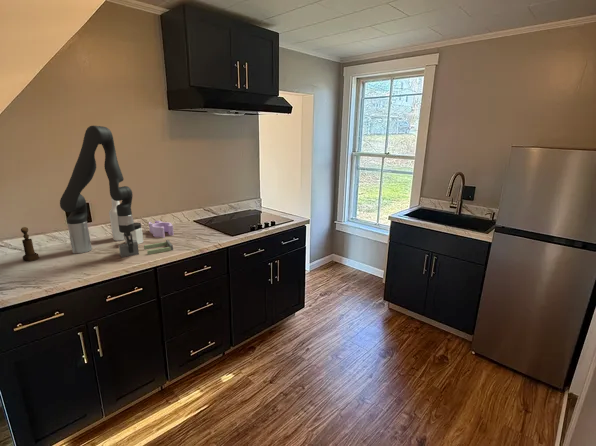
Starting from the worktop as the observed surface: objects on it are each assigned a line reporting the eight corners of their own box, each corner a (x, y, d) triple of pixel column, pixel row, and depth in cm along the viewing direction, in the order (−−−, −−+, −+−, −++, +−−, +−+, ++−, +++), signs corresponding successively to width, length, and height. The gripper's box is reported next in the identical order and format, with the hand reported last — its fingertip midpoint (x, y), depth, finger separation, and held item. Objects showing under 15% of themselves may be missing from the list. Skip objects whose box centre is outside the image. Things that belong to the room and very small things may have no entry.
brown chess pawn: (37, 256, 174) (30, 224, 169) (40, 259, 170) (33, 227, 165) (22, 259, 169) (14, 227, 164) (24, 262, 165) (17, 230, 160)
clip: (144, 232, 217) (143, 223, 215) (162, 228, 227) (161, 219, 225) (159, 239, 205) (158, 228, 203) (177, 234, 215) (176, 224, 213)
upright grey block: (121, 257, 174) (119, 244, 172) (120, 254, 178) (118, 242, 176) (139, 254, 179) (137, 241, 177) (137, 251, 183) (136, 239, 181)
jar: (137, 239, 203) (135, 221, 200) (146, 241, 200) (144, 223, 196) (125, 243, 195) (122, 225, 192) (134, 245, 192) (131, 226, 189)
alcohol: (118, 241, 198) (111, 194, 190) (110, 239, 202) (102, 193, 194) (131, 237, 206) (125, 192, 197) (122, 235, 209) (116, 191, 201)
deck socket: (147, 254, 178) (147, 249, 178) (144, 248, 187) (143, 243, 187) (173, 250, 186) (172, 245, 185) (168, 244, 195) (168, 239, 194)
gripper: (116, 221, 177) (121, 248, 181) (119, 227, 166) (124, 255, 170) (131, 219, 181) (135, 245, 186) (135, 224, 170) (139, 252, 174)
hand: (130, 250), depth 178 cm, fingers open, 8 cm apart
